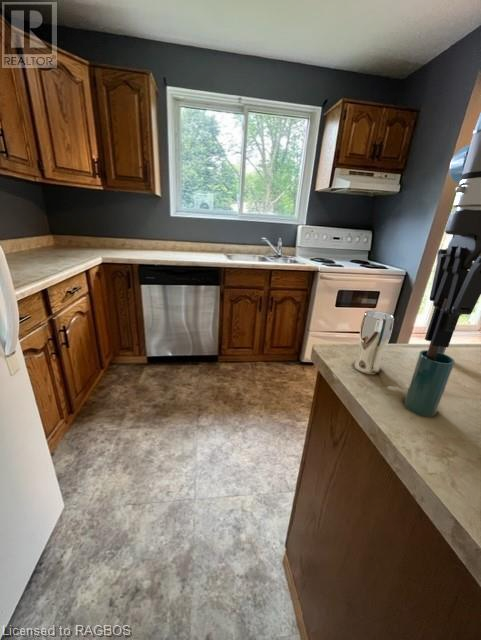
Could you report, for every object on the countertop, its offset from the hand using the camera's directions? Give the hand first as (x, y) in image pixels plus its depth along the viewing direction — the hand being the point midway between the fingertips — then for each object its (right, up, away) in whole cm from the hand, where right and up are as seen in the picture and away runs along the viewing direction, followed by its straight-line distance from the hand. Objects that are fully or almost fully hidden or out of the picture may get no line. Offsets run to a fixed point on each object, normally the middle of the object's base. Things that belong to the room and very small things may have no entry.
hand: (436, 342), depth 52 cm
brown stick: (-1, -11, +4) cm, 11 cm away
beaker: (0, -14, +5) cm, 15 cm away
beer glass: (-4, -9, +20) cm, 22 cm away
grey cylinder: (+20, -7, +28) cm, 34 cm away
